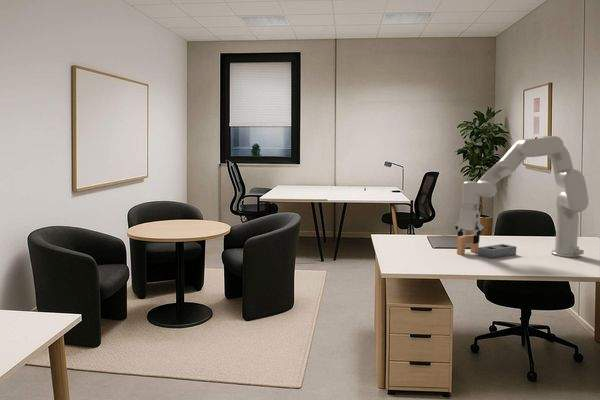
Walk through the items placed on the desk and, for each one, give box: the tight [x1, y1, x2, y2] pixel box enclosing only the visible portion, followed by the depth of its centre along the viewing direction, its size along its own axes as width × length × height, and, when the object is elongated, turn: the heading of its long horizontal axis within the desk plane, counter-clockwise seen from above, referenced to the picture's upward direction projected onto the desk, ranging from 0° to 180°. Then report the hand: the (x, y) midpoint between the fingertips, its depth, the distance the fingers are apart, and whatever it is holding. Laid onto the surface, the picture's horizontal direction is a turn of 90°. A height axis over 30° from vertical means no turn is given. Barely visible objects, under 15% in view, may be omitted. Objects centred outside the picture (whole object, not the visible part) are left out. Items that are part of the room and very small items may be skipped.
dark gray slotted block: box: [477, 243, 517, 260], centre depth 271 cm, size 8×18×4 cm, turn 124°
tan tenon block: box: [456, 233, 481, 256], centre depth 275 cm, size 3×13×8 cm, turn 123°
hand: (467, 241), depth 275 cm, fingers open, 9 cm apart
